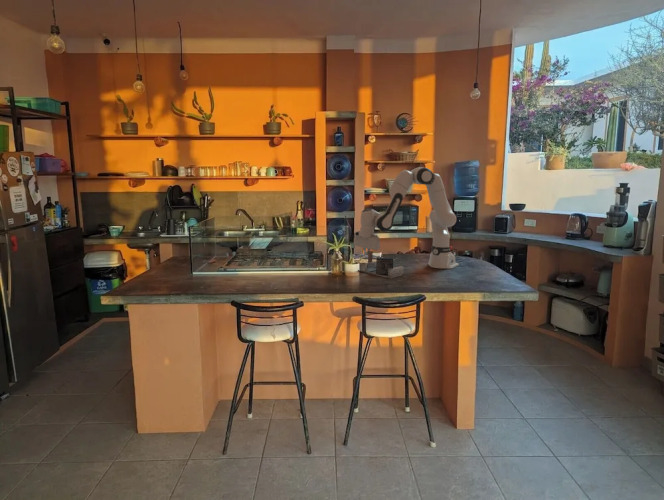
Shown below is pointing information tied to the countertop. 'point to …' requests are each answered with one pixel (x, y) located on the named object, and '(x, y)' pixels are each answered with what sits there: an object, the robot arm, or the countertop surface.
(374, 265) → the sliding jaw
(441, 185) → the robot arm
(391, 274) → the fixed jaw
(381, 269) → the small box
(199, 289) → the countertop surface
